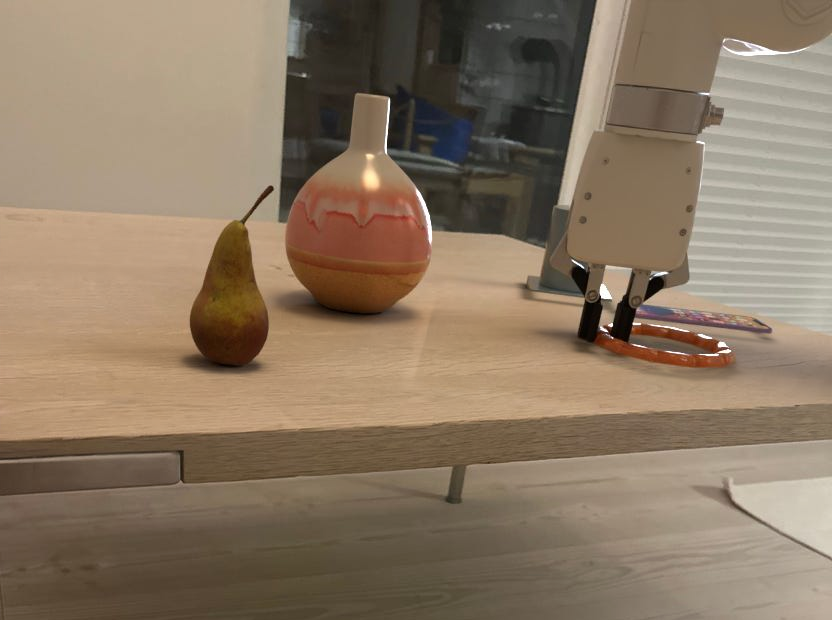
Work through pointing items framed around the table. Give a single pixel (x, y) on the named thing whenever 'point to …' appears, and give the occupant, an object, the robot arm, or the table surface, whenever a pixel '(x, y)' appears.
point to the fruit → (231, 300)
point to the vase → (360, 222)
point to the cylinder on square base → (549, 276)
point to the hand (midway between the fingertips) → (600, 346)
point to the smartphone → (701, 318)
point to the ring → (717, 359)
